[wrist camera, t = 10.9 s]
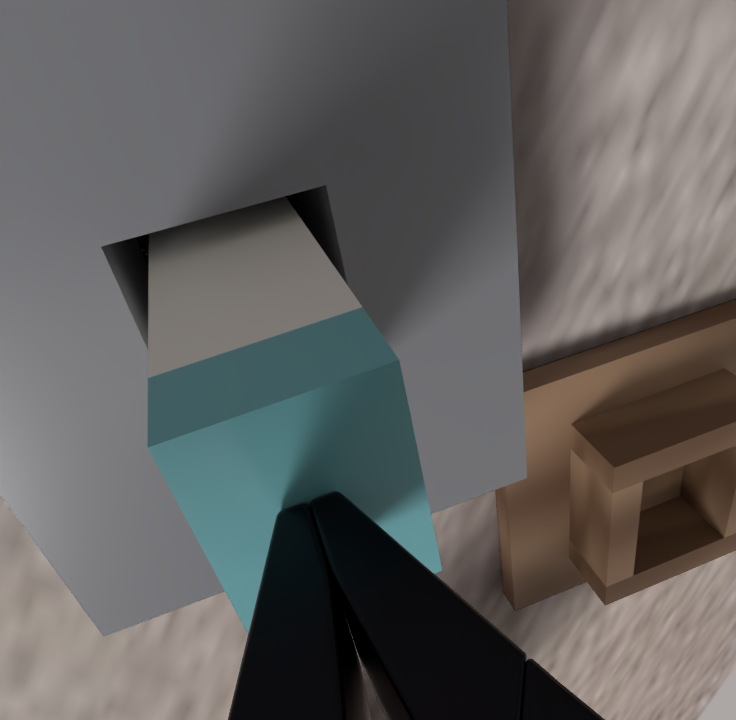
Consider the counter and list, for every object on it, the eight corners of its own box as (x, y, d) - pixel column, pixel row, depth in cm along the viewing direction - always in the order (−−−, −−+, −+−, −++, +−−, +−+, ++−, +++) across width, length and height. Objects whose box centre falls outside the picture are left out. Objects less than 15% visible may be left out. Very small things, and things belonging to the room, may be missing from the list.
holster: (725, 503, 30) (787, 557, 27) (504, 593, 28) (545, 661, 25) (772, 286, 23) (861, 327, 20) (486, 384, 21) (539, 445, 18)
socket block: (460, 394, 21) (526, 477, 17) (112, 513, 19) (103, 637, 15) (403, -108, 13) (501, -151, 10) (-189, 9, 11) (-352, 12, 8)
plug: (305, 303, 18) (442, 570, 9) (204, 337, 17) (255, 647, 9) (265, 168, 15) (399, 360, 7) (149, 201, 15) (147, 447, 7)
